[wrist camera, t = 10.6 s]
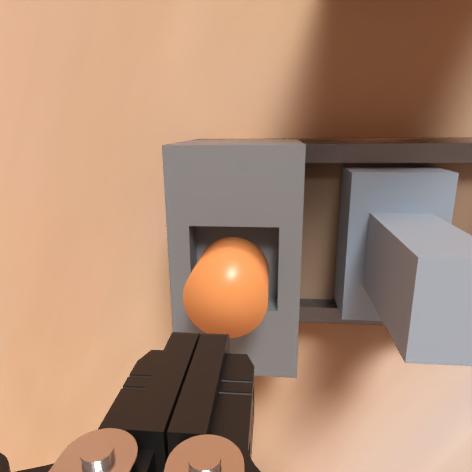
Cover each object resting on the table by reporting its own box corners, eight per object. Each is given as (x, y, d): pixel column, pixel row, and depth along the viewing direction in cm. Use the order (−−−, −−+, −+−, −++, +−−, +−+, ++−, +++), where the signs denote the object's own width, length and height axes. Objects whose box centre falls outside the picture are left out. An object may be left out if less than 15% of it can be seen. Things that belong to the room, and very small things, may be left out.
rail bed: (641, 136, 22) (731, 139, 17) (593, 315, 25) (660, 356, 20) (198, 139, 24) (181, 142, 20) (203, 301, 27) (190, 335, 23)
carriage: (434, 166, 22) (561, 198, 12) (417, 299, 24) (513, 416, 14) (342, 166, 22) (393, 197, 12) (333, 296, 24) (371, 408, 15)
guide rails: (634, 141, 20) (655, 142, 19) (586, 323, 23) (602, 333, 22) (297, 143, 22) (298, 144, 21) (291, 312, 25) (292, 321, 24)
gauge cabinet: (297, 139, 22) (305, 144, 16) (291, 321, 25) (296, 385, 19) (193, 140, 23) (162, 145, 16) (200, 317, 26) (175, 378, 20)
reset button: (269, 237, 17) (268, 260, 14) (268, 305, 18) (267, 340, 15) (196, 236, 17) (180, 258, 14) (199, 303, 18) (184, 336, 15)
